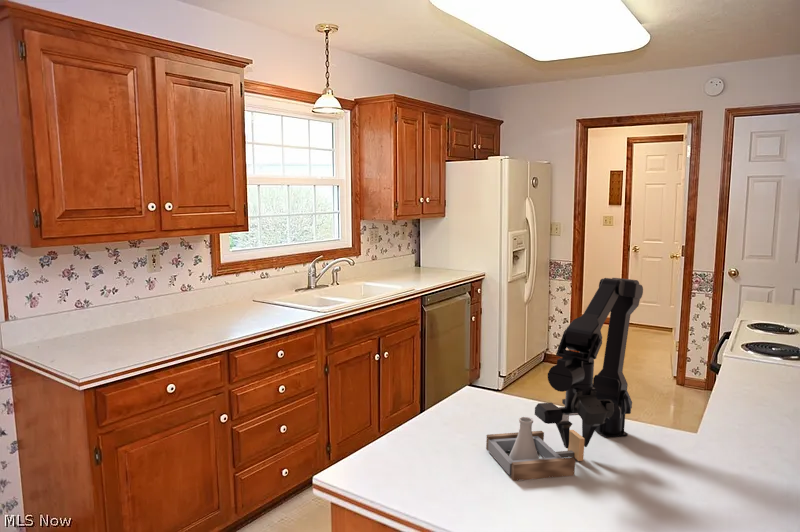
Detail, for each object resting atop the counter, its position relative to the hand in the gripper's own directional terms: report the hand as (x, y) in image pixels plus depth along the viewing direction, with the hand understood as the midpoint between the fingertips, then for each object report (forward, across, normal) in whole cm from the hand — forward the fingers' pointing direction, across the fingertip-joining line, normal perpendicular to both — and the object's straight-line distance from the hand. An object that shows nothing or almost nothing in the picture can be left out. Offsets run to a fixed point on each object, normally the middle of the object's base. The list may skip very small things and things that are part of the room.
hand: (575, 447), depth 132 cm
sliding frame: (+2, -9, 0) cm, 9 cm away
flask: (+3, -13, 0) cm, 13 cm away
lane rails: (+2, -12, 0) cm, 12 cm away
